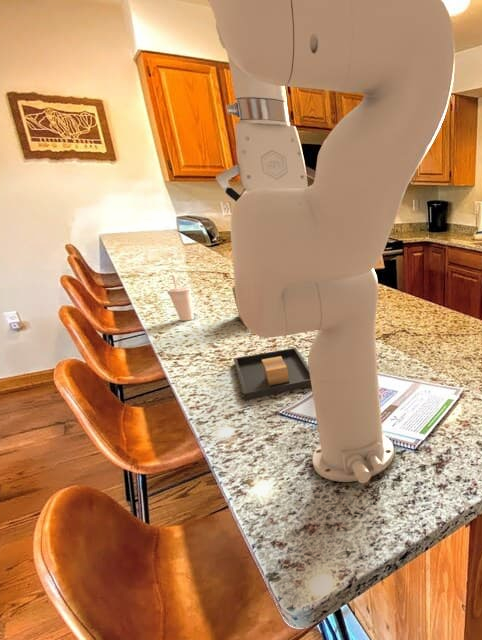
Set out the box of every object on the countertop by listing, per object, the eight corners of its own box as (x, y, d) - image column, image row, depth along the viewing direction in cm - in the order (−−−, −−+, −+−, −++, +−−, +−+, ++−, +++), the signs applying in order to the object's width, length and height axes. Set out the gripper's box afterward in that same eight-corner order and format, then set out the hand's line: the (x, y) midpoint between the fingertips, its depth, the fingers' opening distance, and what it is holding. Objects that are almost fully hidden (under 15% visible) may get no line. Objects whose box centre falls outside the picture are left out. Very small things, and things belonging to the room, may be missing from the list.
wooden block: (290, 386, 90) (286, 367, 88) (270, 390, 88) (266, 371, 86) (284, 374, 95) (280, 356, 94) (265, 378, 94) (261, 359, 92)
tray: (317, 387, 91) (316, 378, 90) (245, 403, 84) (243, 394, 83) (297, 355, 108) (295, 347, 107) (235, 366, 101) (233, 358, 100)
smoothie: (178, 317, 138) (166, 273, 132) (200, 315, 139) (189, 272, 134) (172, 322, 132) (160, 277, 126) (196, 321, 134) (184, 276, 128)
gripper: (202, 109, 61) (228, 234, 68) (324, 117, 68) (336, 228, 76) (201, 113, 66) (225, 228, 74) (314, 120, 74) (325, 224, 82)
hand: (281, 228), depth 75 cm, fingers open, 9 cm apart
